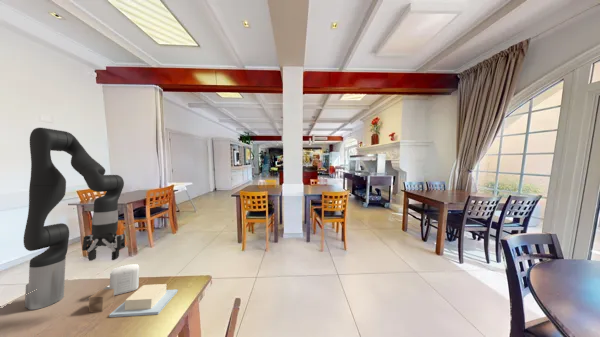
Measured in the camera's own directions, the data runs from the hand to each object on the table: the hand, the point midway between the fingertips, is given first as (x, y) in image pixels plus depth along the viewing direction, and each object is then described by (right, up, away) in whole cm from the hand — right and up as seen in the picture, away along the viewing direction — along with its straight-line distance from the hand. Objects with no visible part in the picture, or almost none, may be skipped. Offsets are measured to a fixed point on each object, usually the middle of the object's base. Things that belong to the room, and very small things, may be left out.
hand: (103, 259), depth 77 cm
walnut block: (0, -20, 0) cm, 20 cm away
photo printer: (0, -20, +10) cm, 22 cm away
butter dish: (+16, -20, +2) cm, 26 cm away
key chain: (-10, -21, +8) cm, 24 cm away
